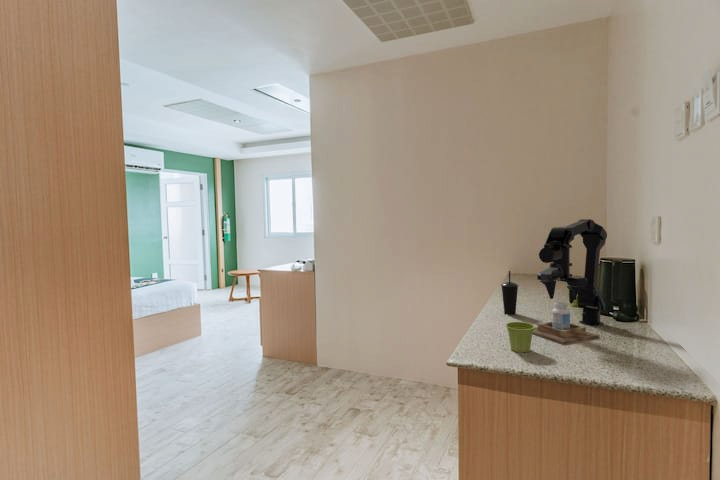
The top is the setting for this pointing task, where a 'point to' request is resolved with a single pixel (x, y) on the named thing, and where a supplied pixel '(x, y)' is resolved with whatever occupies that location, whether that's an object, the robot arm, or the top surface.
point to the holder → (563, 333)
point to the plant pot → (520, 336)
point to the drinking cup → (509, 297)
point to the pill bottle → (561, 316)
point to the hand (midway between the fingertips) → (561, 301)
